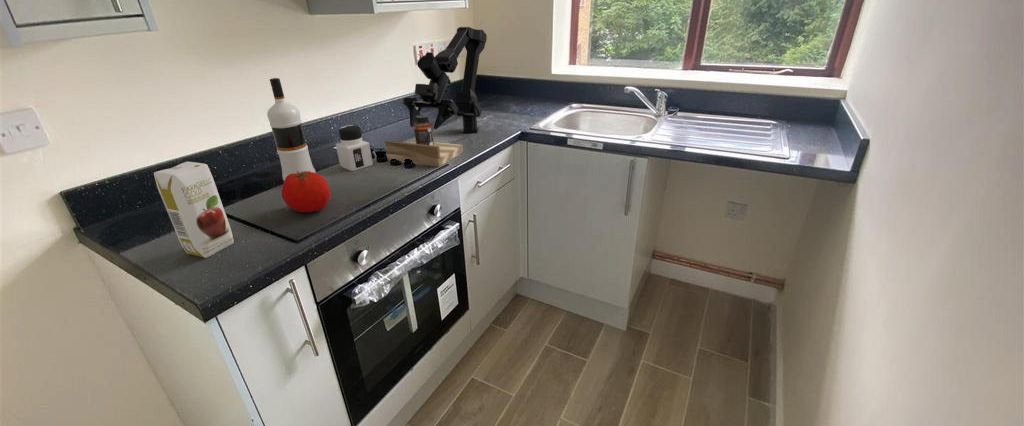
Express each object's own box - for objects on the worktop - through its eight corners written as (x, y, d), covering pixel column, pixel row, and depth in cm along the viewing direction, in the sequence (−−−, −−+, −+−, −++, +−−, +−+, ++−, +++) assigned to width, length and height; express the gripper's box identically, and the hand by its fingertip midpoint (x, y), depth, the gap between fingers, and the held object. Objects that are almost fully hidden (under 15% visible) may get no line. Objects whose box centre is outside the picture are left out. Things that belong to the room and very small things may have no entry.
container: (373, 165, 145) (366, 126, 139) (351, 171, 140) (343, 131, 134) (361, 160, 150) (354, 122, 144) (339, 166, 145) (331, 127, 139)
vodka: (278, 185, 131) (248, 81, 117) (292, 174, 139) (266, 76, 126) (309, 185, 130) (283, 80, 117) (321, 173, 139) (298, 75, 126)
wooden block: (414, 146, 162) (412, 129, 159) (463, 151, 154) (461, 133, 152) (387, 160, 148) (384, 141, 146) (439, 166, 141) (437, 147, 138)
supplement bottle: (437, 149, 149) (433, 116, 144) (420, 152, 147) (416, 119, 142) (430, 145, 154) (427, 112, 149) (414, 148, 151) (410, 115, 147)
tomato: (309, 197, 122) (300, 162, 118) (344, 204, 117) (336, 168, 113) (274, 214, 113) (263, 177, 109) (310, 222, 108) (300, 184, 104)
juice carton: (180, 255, 96) (145, 173, 87) (216, 237, 103) (188, 159, 94) (205, 261, 93) (171, 177, 85) (240, 241, 100) (213, 162, 92)
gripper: (401, 72, 147) (386, 113, 143) (450, 74, 141) (436, 116, 137) (417, 91, 157) (404, 130, 153) (464, 94, 151) (451, 134, 147)
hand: (422, 127), depth 147 cm, fingers open, 9 cm apart
